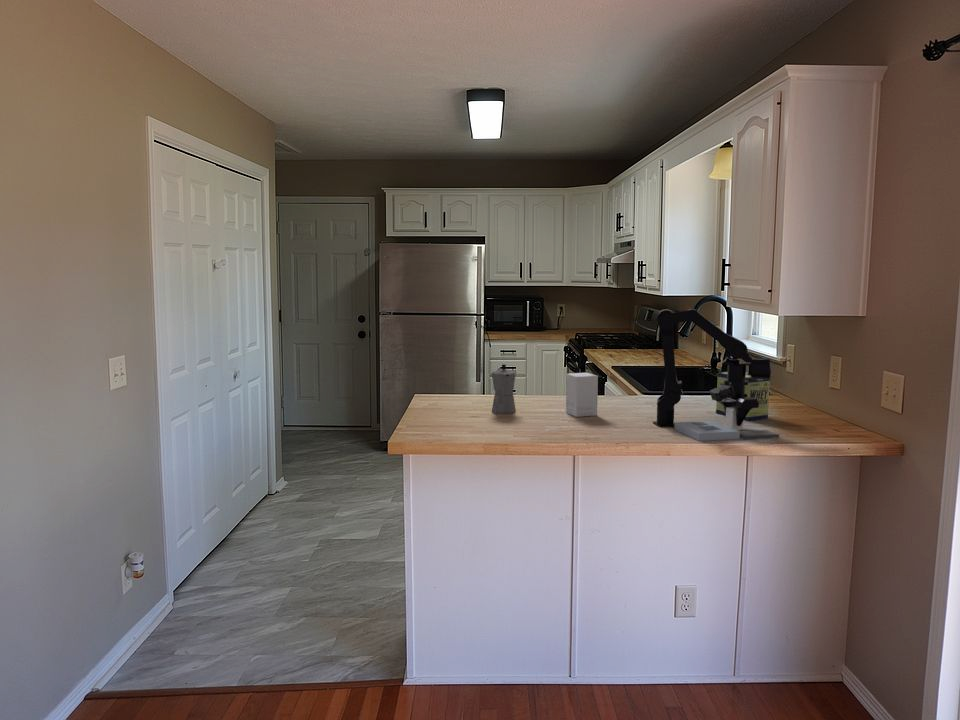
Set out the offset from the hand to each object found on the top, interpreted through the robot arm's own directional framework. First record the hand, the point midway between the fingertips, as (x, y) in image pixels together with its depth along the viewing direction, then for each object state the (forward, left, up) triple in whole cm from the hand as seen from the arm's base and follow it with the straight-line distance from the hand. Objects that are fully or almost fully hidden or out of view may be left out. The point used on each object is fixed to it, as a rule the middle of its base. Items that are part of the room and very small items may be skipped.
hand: (734, 424), depth 231 cm
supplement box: (-33, -42, -2) cm, 53 cm away
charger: (0, 0, -2) cm, 2 cm away
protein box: (-18, +14, -2) cm, 23 cm away
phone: (+11, +1, -2) cm, 11 cm away
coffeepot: (-45, -69, -2) cm, 82 cm away
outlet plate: (+5, -13, -2) cm, 14 cm away
